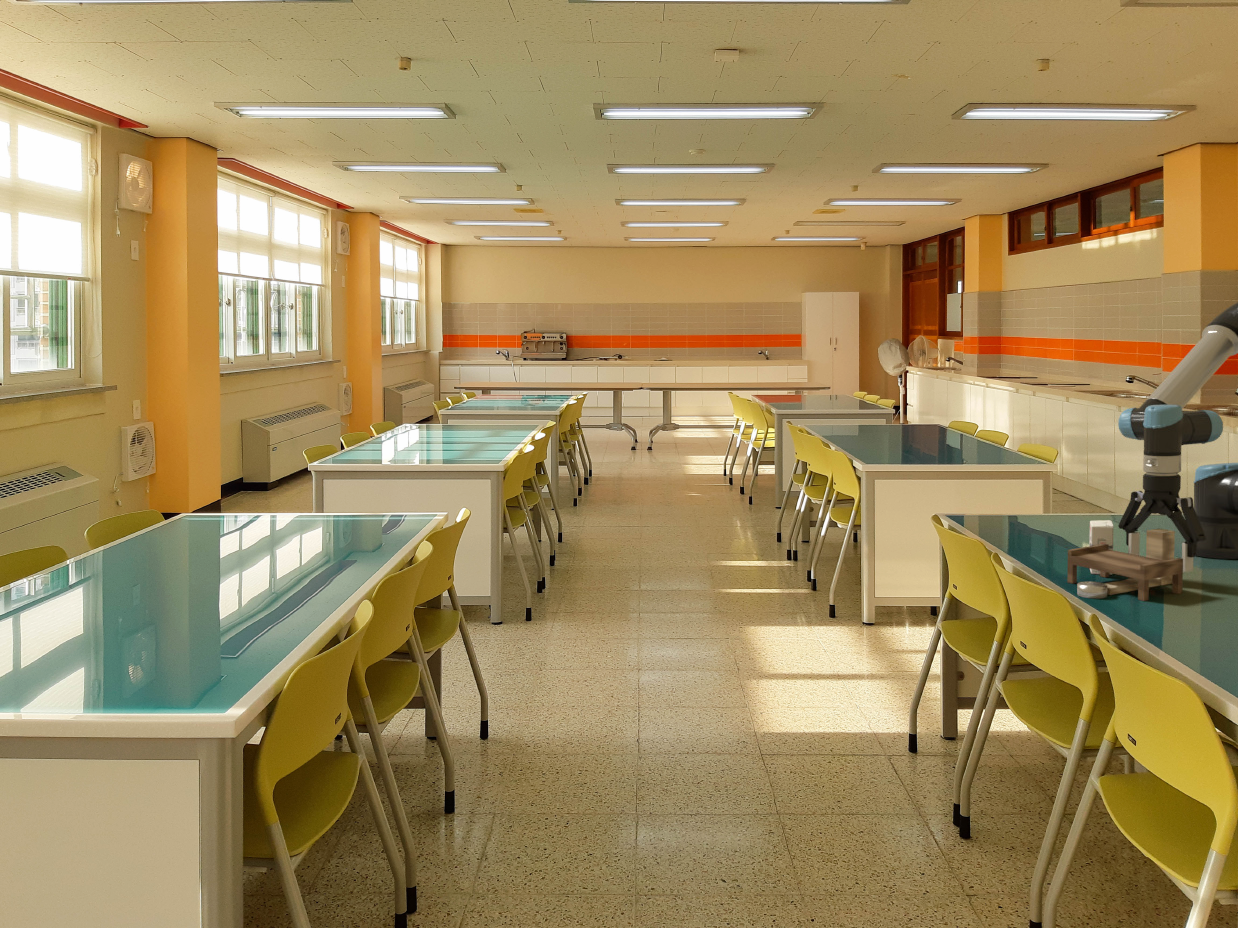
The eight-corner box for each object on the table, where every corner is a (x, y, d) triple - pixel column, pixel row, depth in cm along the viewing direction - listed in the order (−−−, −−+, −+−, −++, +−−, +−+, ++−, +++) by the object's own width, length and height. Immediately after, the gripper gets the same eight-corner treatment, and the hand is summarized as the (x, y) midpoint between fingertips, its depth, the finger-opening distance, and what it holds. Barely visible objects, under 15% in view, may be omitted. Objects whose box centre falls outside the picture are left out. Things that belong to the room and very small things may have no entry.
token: (1092, 591, 222) (1092, 580, 222) (1113, 597, 217) (1113, 585, 216) (1071, 594, 220) (1071, 583, 220) (1092, 600, 215) (1092, 589, 214)
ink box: (1088, 566, 245) (1089, 519, 243) (1110, 567, 243) (1111, 519, 242) (1090, 574, 237) (1091, 525, 235) (1113, 575, 235) (1114, 526, 234)
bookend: (1157, 579, 229) (1158, 528, 228) (1173, 582, 226) (1174, 531, 224) (1095, 591, 221) (1096, 538, 220) (1111, 595, 218) (1111, 541, 216)
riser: (1104, 575, 235) (1104, 543, 234) (1182, 593, 217) (1183, 558, 216) (1067, 582, 230) (1067, 549, 229) (1143, 600, 212) (1144, 565, 211)
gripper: (1102, 469, 233) (1101, 557, 236) (1202, 480, 211) (1199, 578, 213) (1125, 466, 236) (1124, 554, 239) (1226, 477, 214) (1223, 573, 216)
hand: (1159, 565), depth 226 cm, fingers open, 13 cm apart
